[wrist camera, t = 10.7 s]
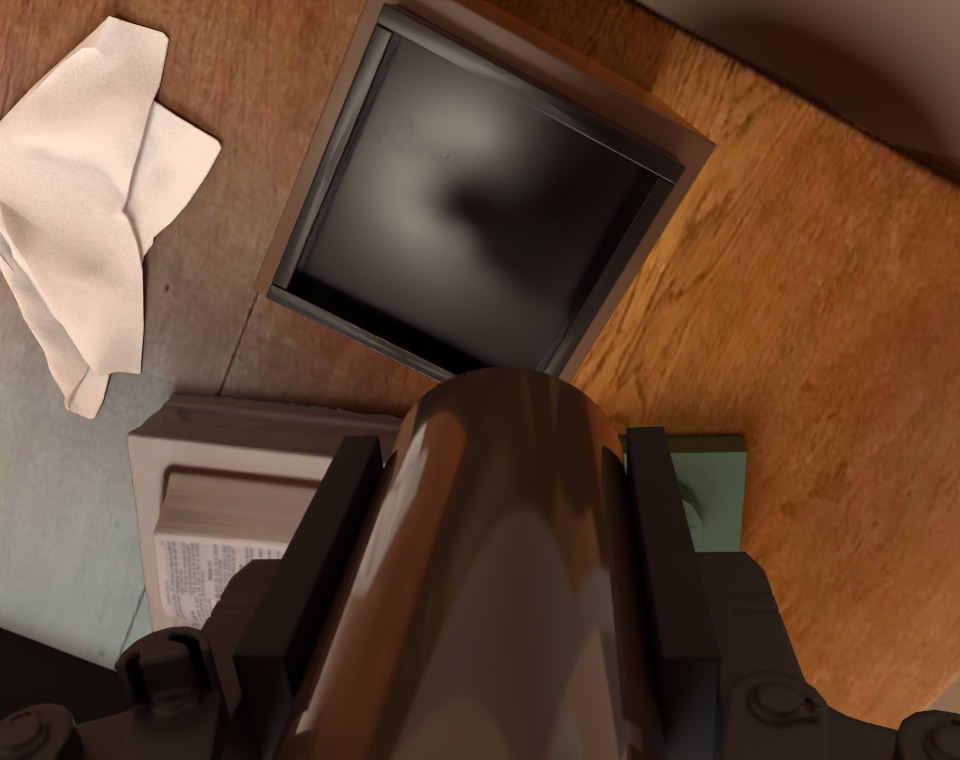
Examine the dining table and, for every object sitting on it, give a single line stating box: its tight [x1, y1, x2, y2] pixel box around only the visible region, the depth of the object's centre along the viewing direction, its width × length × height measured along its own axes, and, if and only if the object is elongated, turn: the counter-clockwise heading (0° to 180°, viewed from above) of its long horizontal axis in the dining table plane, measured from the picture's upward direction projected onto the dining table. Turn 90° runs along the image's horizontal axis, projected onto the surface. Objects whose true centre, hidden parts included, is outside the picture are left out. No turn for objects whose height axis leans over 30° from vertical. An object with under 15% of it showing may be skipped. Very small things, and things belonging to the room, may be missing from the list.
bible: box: [127, 393, 404, 632], centre depth 55 cm, size 23×27×10 cm
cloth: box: [0, 16, 222, 419], centre depth 49 cm, size 26×14×2 cm, turn 151°
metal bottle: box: [271, 367, 668, 760], centre depth 12 cm, size 5×5×13 cm
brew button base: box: [619, 436, 747, 552], centre depth 53 cm, size 12×10×4 cm
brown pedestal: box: [253, 0, 716, 384], centre depth 36 cm, size 12×12×22 cm
